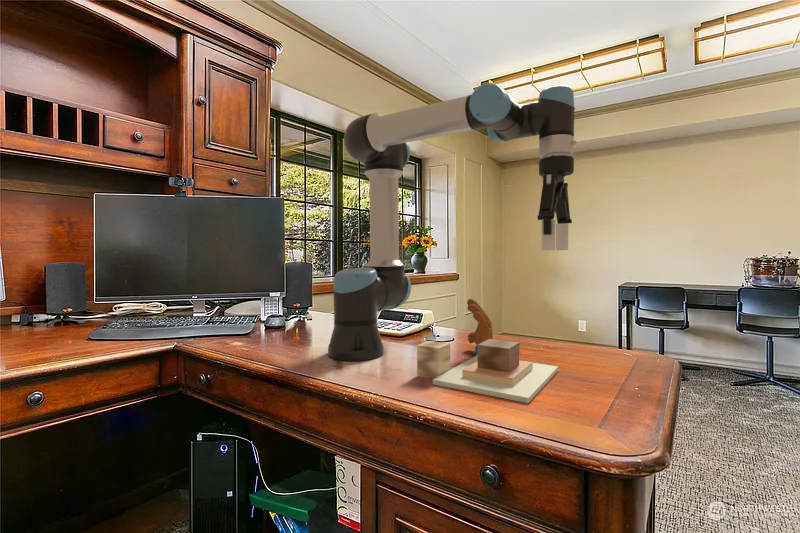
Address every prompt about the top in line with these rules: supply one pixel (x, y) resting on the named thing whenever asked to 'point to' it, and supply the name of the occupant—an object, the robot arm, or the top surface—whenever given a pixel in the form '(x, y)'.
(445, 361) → the maple block
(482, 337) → the toy
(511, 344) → the walnut block
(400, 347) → the top surface
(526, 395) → the board
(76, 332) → the top surface
